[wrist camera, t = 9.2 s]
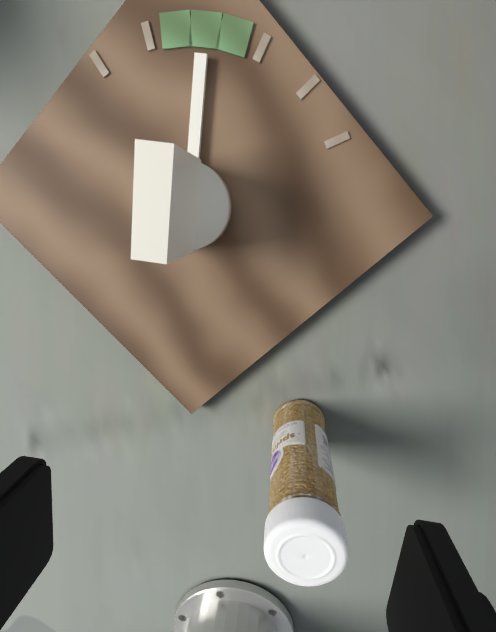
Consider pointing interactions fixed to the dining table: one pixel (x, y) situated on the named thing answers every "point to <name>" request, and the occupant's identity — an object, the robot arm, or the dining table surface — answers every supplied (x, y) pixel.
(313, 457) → the sprinkles bottle
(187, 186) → the tuning knob
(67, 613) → the dining table surface
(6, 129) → the dining table surface
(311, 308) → the dial board
